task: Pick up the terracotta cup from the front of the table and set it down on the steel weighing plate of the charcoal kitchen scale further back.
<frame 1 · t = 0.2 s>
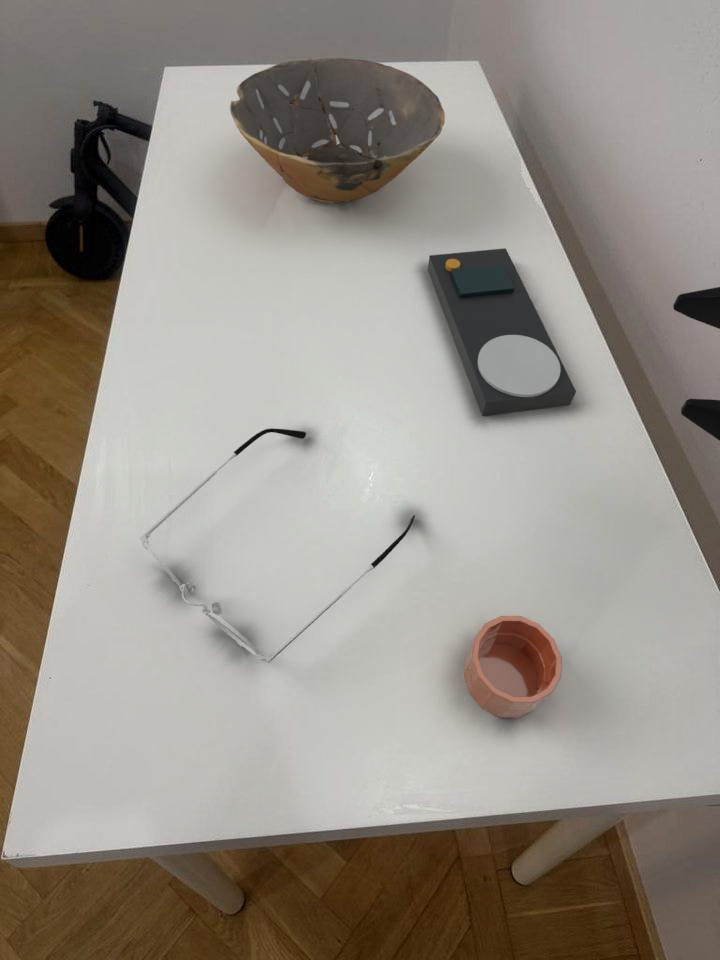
hand: (679, 350, 40), 19 cm above the table, tool horizontal, fingers open, 9 cm apart
terracotta cup: (503, 677, 47), on the table
bowl: (337, 185, 82), on the table
scale: (493, 332, 68), on the table
eyeglasses: (283, 544, 53), on the table
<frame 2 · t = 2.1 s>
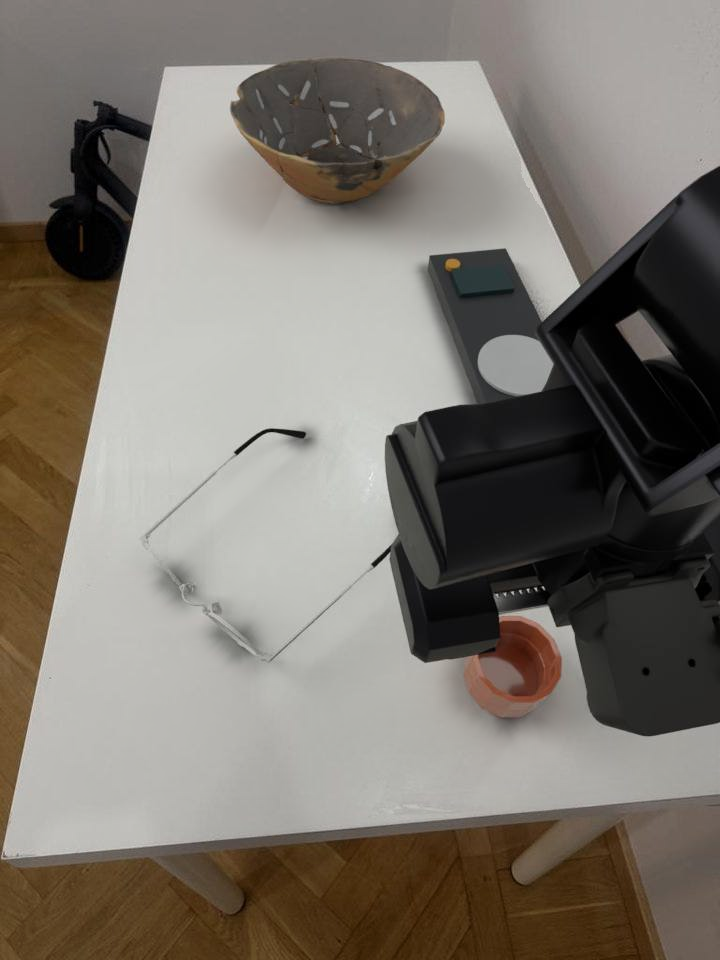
hand: (538, 627, 39), 10 cm above the table, tool pointing down, fingers open, 9 cm apart
nothing on the table moved.
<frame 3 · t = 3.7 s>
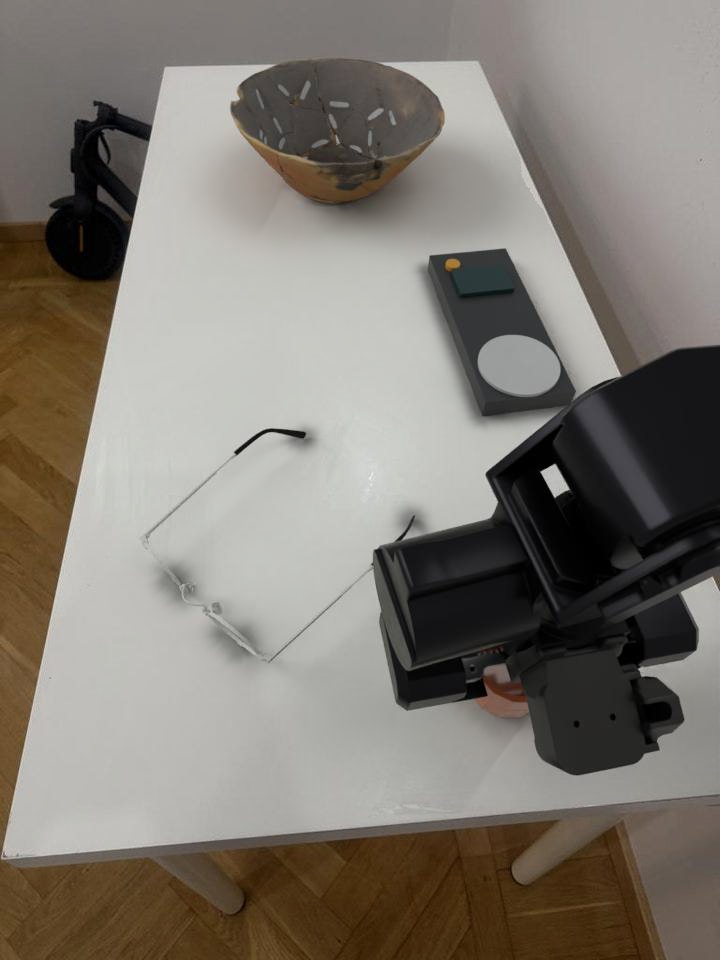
hand: (506, 671, 46), 1 cm above the table, tool pointing down, fingers closed on terracotta cup, 6 cm apart
terracotta cup: (503, 677, 47), on the table, touching gripper
everything else where it was.
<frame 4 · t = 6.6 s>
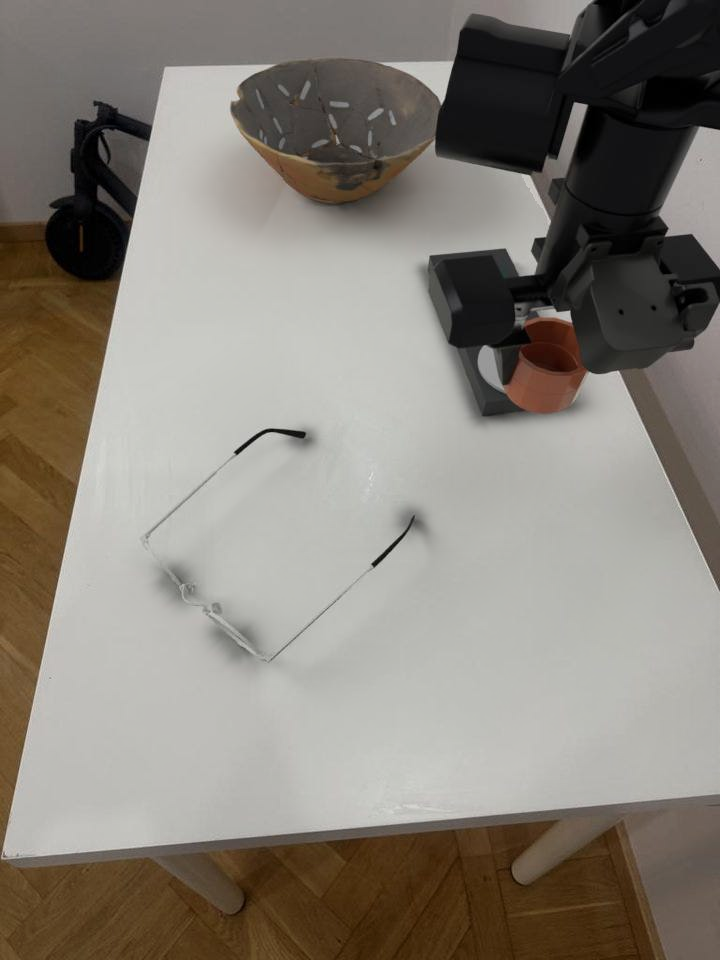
hand: (541, 376, 49), 11 cm above the table, tool pointing down, fingers closed on terracotta cup, 6 cm apart
terracotta cup: (537, 387, 50), point 10 cm above the table, touching gripper
everything else where it was.
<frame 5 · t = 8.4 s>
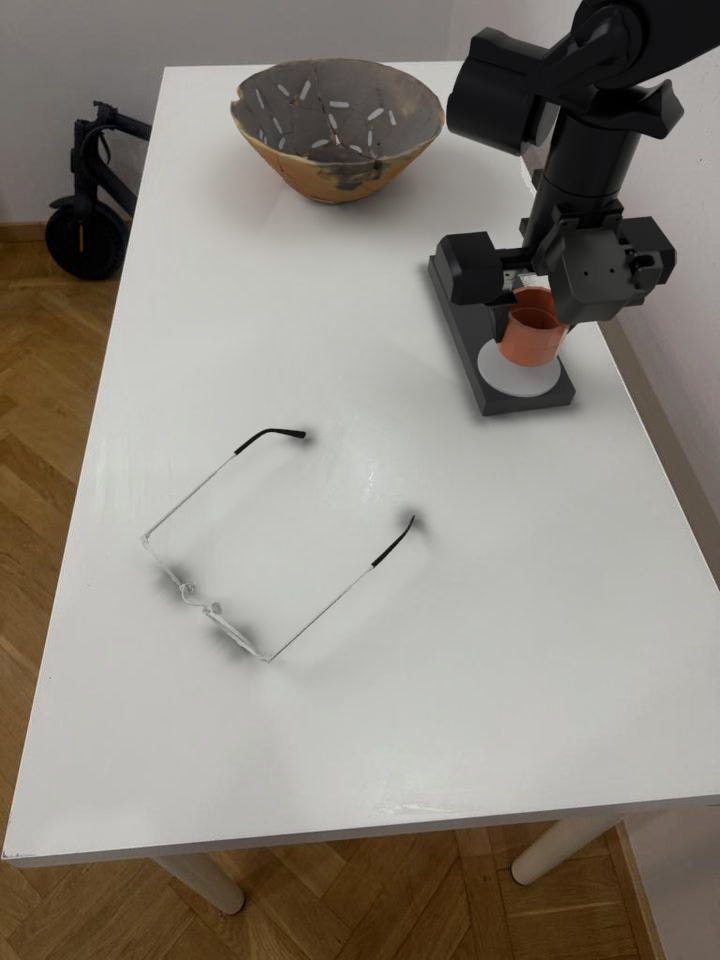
hand: (529, 336, 59), 6 cm above the table, tool pointing down, fingers closed on terracotta cup, 6 cm apart
terracotta cup: (526, 346, 60), point 5 cm above the table, touching gripper
everything else where it was.
when the fingers open (4 cm above the table, at t = 9.6 s): terracotta cup stays where it is, resting on scale.
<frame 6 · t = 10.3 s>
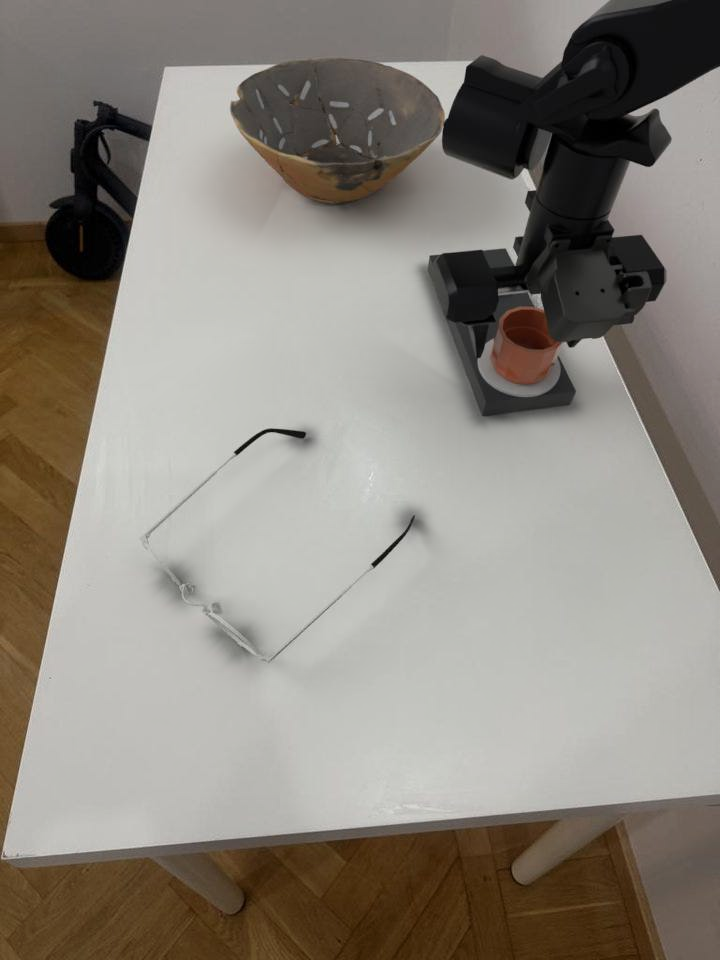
hand: (523, 349, 60), 4 cm above the table, tool pointing down, fingers open, 9 cm apart
terracotta cup: (520, 363, 62), point 2 cm above the table, touching scale
everything else where it was.
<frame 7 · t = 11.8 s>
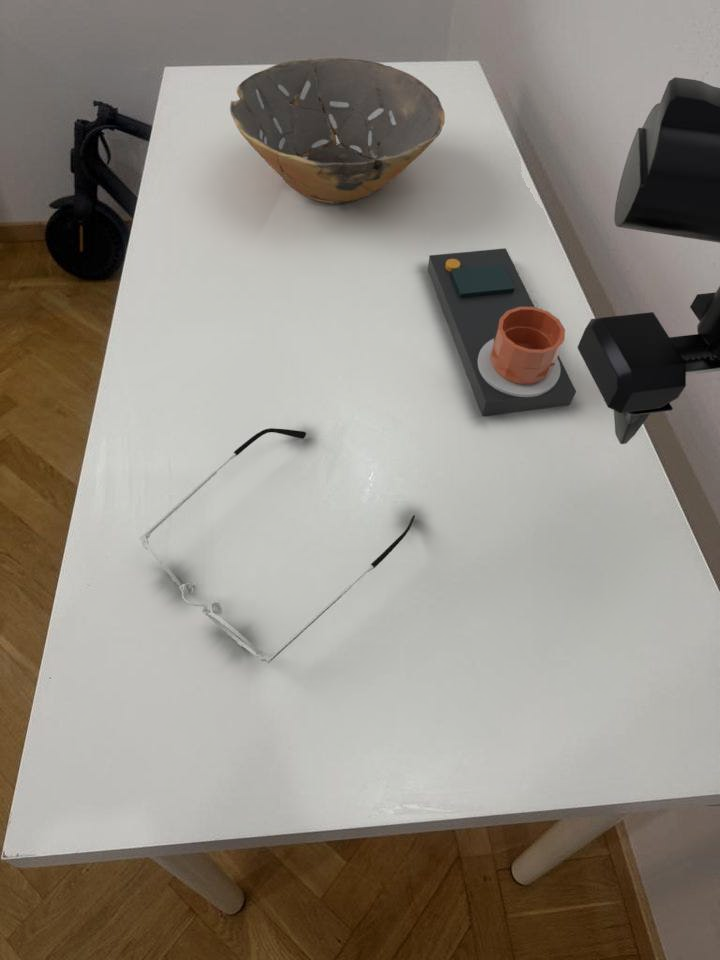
hand: (678, 431, 47), 11 cm above the table, tool pointing down, fingers open, 9 cm apart
nothing on the table moved.
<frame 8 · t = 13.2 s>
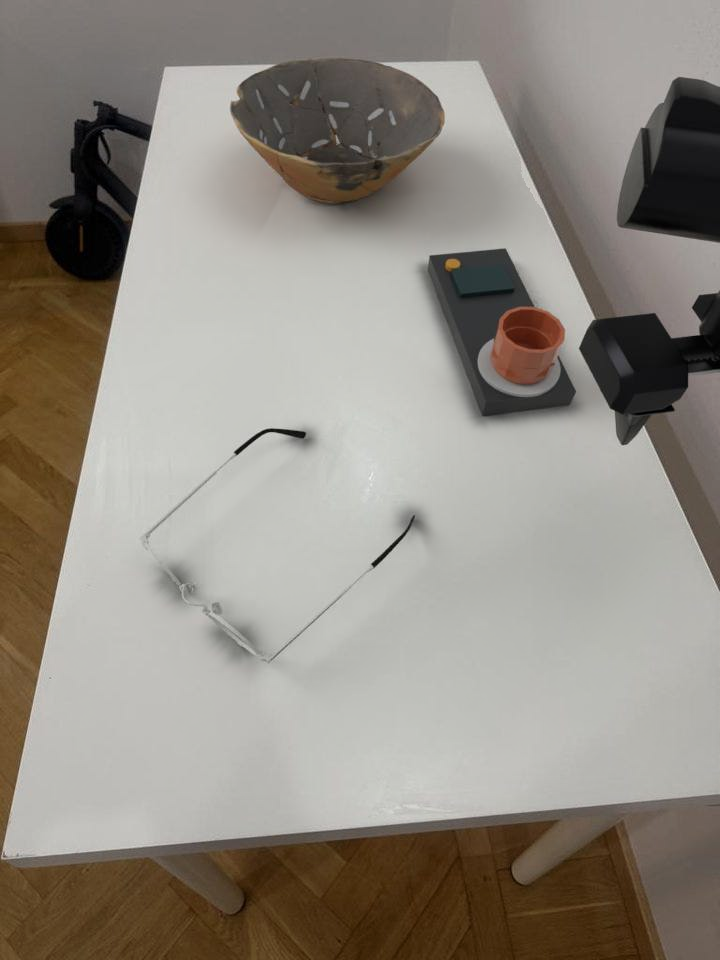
hand: (679, 432, 46), 11 cm above the table, tool pointing down, fingers open, 9 cm apart
nothing on the table moved.
at the end: terracotta cup 0.1 cm from the target spot on the scale, point 2.4 cm above the scale's base; terracotta cup tilted 0°; the gripper is holding nothing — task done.
